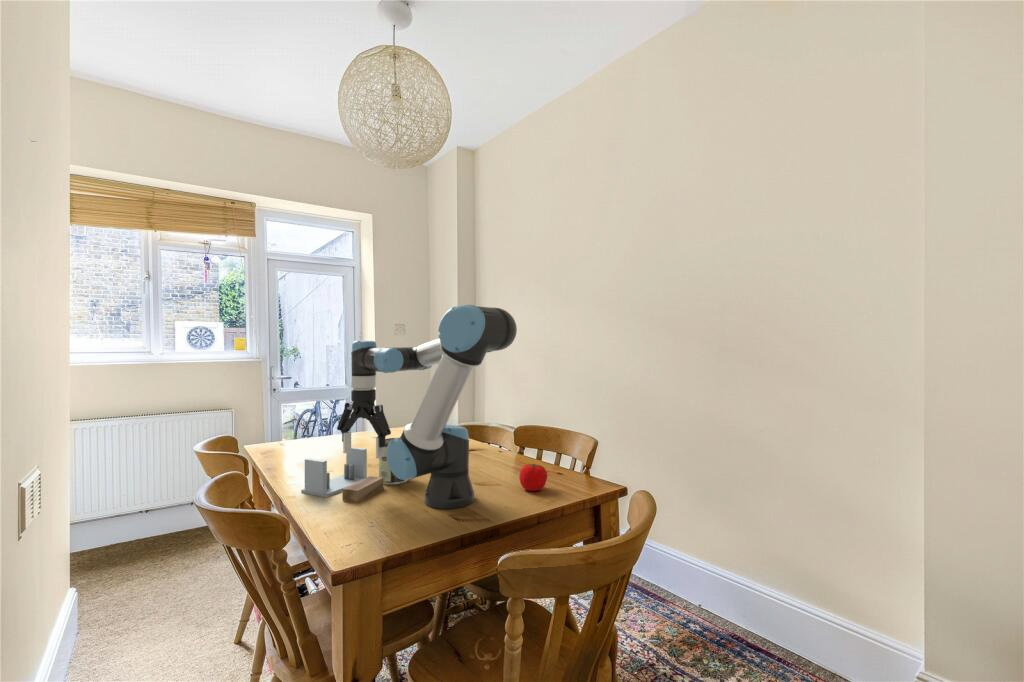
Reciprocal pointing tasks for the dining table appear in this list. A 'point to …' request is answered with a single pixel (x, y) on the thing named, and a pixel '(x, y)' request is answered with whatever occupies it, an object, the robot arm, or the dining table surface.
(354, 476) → the peg cradle
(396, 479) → the coffee can
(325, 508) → the dining table surface
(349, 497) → the shelf board
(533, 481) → the tomato
